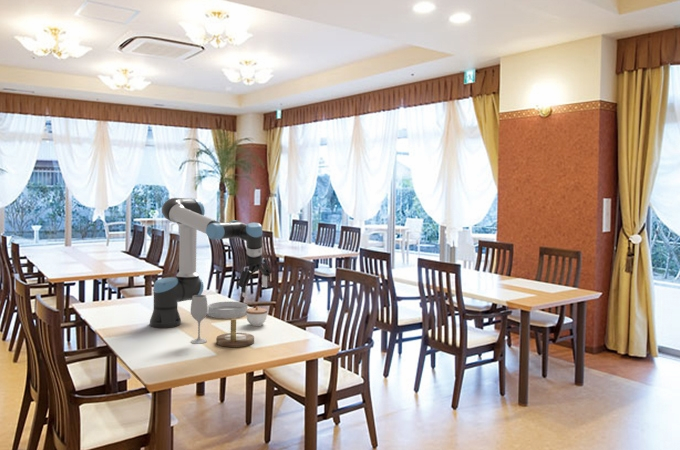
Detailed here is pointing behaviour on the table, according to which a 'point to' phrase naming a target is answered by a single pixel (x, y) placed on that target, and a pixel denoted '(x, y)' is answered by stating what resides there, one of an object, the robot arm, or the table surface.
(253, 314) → the lidded jar
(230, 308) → the dish
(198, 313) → the wineglass
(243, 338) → the wooden holder stand
